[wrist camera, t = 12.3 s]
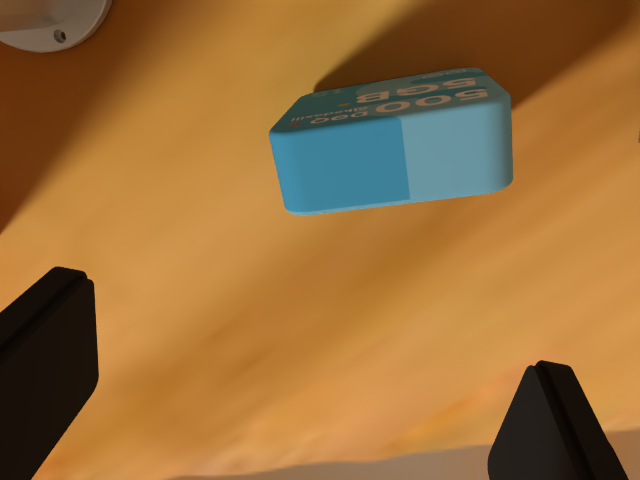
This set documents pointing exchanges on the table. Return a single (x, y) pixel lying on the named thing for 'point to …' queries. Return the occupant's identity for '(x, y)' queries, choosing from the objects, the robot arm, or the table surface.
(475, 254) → the table surface
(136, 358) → the table surface
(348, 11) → the table surface
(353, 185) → the data package
